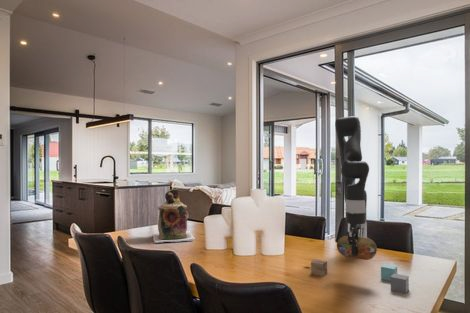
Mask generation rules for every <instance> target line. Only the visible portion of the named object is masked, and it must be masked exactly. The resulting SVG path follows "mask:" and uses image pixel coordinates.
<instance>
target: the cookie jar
mask: <svg viewBox="0 0 470 313" xmlns="http://www.w3.org/2000/svg"><path fill="white" fill-rule="evenodd" d="M179 189H180V187H177V188H176V189H175V188H174V189H170V190H168V191H167V192H166V193H165V196H164V197H165V200H166V201H165V202H164V203H163V204H161V205H159V206H157V209H158V211H159V212H158V213H159V214H158V221H157V222H158V223H157V228H158V229H157V230H158V233H152V238H153V243H154V244H158V243H160V244H161V243H165V242H166V243H167V242H168V243H169V242H170V243H177V242H192V241H194V240H195V237H194V236H193V234H192V233H191V231H190V230H188V219H189V216H190V215H189V211H188V210H187V209H188V206H187V205H186V204H184V203H183V202H182V201H181V200H180V195H181V194H180V192H179Z"/></svg>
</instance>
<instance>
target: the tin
mask: <svg viewBox="0 0 470 313" xmlns="http://www.w3.org/2000/svg"><path fill="white" fill-rule="evenodd" d="M355 238H357V237H355ZM353 242H354V241H353ZM336 248H337V251H338V252H339V253H340V255H341V256H344V257H345V258H352V259H356V260H364V261H366V260H367V261H369V260H371V259H373V258H374V257H376V255H377V252H378V248H377V244H376V243H375V241H374V240H372V239H371V238H369V237H367V238H366V237H359V240H358V255H357V256H353V255H352V247H351V245H349V241H348V236H347V235H343V236H341V237H340V238H338V240H337V242H336Z"/></svg>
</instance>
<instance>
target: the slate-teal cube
mask: <svg viewBox="0 0 470 313" xmlns="http://www.w3.org/2000/svg"><path fill="white" fill-rule="evenodd" d="M393 274H398V266H397V265H394V264H387V263H383V264H382V265H381V266H380V279H381V280H385V281H389V282H391V276H392V275H393Z"/></svg>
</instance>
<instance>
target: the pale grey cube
mask: <svg viewBox="0 0 470 313" xmlns="http://www.w3.org/2000/svg"><path fill="white" fill-rule="evenodd" d="M409 278H410V277H409V276H408V275H405V274H399V273H397V274H393V275H392V276H391V281H390V291H391V292H396V293H400V294H404V295H405V294H407V293H408V292H409V288H410V286H409V285H410V282H409Z"/></svg>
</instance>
